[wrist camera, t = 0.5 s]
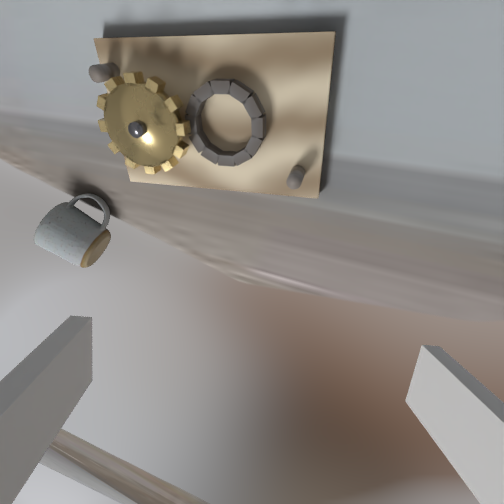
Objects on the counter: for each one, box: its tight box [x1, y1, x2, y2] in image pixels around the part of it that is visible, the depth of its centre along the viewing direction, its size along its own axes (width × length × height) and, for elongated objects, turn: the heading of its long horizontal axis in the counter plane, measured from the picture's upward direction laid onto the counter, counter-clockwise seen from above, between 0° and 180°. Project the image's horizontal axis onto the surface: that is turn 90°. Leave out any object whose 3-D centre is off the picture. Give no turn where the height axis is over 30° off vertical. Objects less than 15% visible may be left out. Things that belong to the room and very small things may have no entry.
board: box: [89, 31, 336, 198], centre depth 35 cm, size 16×25×4 cm, turn 92°
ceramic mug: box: [34, 193, 111, 268], centre depth 48 cm, size 11×8×8 cm
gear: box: [97, 71, 191, 174], centre depth 35 cm, size 10×10×5 cm
